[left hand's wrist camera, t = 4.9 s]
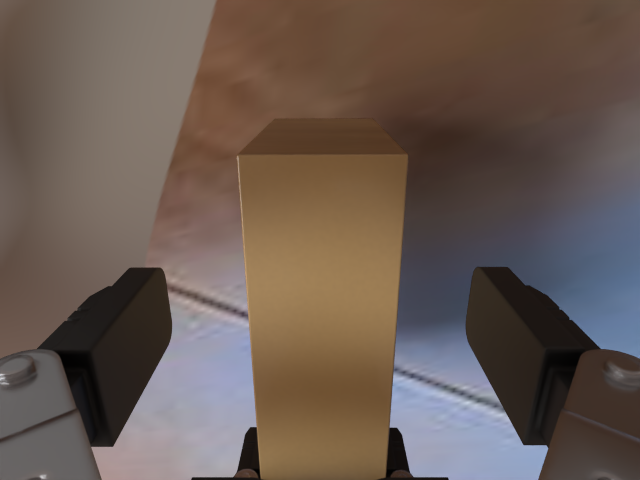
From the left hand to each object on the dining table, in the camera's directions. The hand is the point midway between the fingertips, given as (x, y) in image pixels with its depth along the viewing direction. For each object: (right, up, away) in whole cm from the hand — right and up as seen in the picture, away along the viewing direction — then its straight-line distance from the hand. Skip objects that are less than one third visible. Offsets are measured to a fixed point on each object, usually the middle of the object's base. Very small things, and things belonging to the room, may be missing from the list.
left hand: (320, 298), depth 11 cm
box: (0, 0, +19) cm, 19 cm away
